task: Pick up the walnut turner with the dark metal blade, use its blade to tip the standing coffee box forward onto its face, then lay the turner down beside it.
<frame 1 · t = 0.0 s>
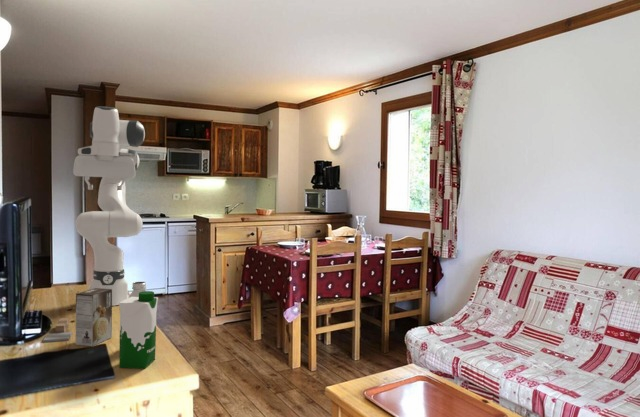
hand: (105, 190, 162), 48 cm above the tv stand, tool pointing down, fingers open, 8 cm apart
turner: (62, 330, 153), on the tv stand
milk carton: (137, 364, 126), on the tv stand
plastic bottle: (137, 348, 139), on the tv stand
coffee box: (93, 341, 143), on the tv stand
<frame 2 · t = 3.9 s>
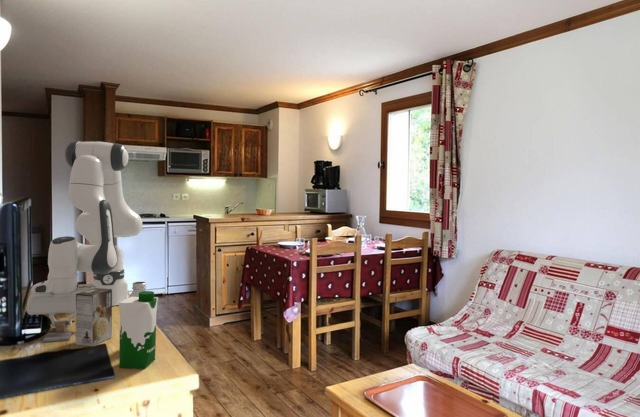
hand: (62, 325, 153), 2 cm above the tv stand, tool pointing down, fingers closed on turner, 2 cm apart
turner: (62, 330, 153), on the tv stand, touching gripper
everything else where it was.
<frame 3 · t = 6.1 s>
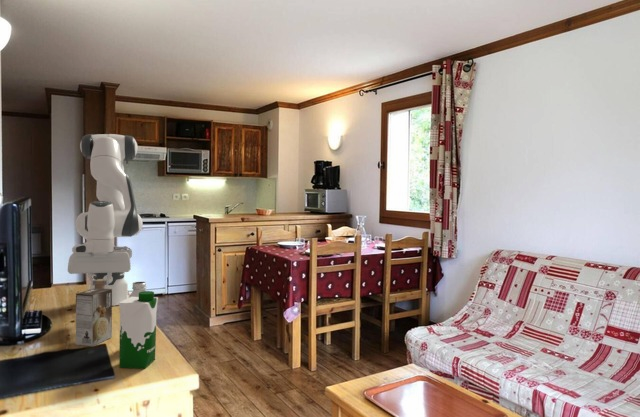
hand: (99, 285, 161), 14 cm above the tv stand, tool pointing down, fingers closed on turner, 2 cm apart
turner: (99, 289, 161), point 12 cm above the tv stand, touching gripper
everything else where it was.
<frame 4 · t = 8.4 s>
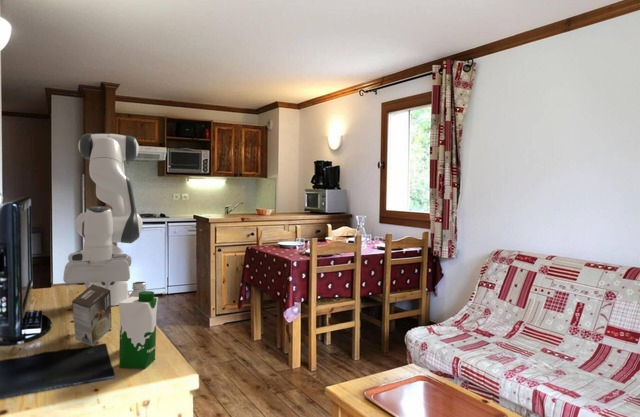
hand: (97, 295, 153), 12 cm above the tv stand, tool pointing down, fingers closed on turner, 2 cm apart
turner: (97, 300, 152), point 11 cm above the tv stand, tilted 18°, touching gripper, coffee box
coffee box: (93, 334, 143), point 2 cm above the tv stand, touching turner
everything else where it was.
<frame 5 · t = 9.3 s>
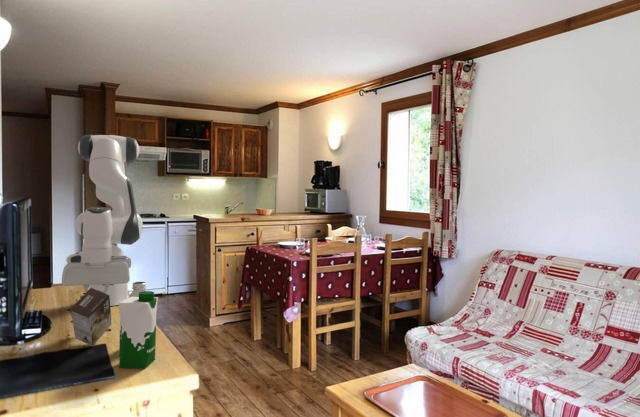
hand: (96, 297, 149), 12 cm above the tv stand, tool pointing down, fingers closed on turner, 2 cm apart
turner: (96, 303, 149), point 11 cm above the tv stand, tilted 21°, touching gripper, coffee box
coffee box: (93, 331, 142), point 3 cm above the tv stand, touching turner
everything else where it was.
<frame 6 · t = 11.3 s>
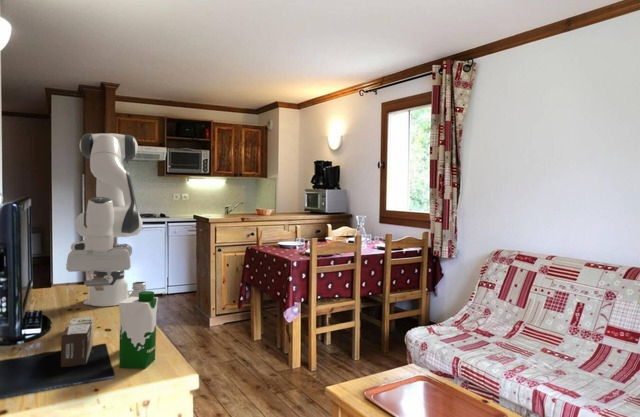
hand: (99, 283, 158), 15 cm above the tv stand, tool pointing down, fingers closed on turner, 2 cm apart
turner: (99, 288, 157), point 14 cm above the tv stand, tilted 21°, touching gripper
coffee box: (82, 332, 137), point 4 cm above the tv stand
everything else where it was.
when the fingers open (3 cm above the tv stand, at t = 14.9 s): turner drops 2 cm, on the tv stand.
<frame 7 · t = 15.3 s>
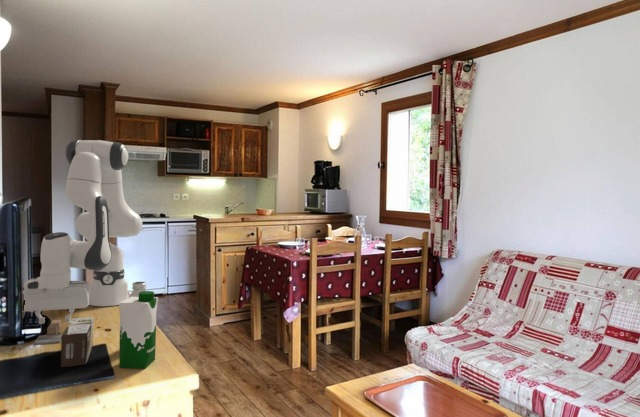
hand: (55, 322, 151), 3 cm above the tv stand, tool pointing down, fingers open, 6 cm apart
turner: (54, 332, 150), on the tv stand
everything else where it was.
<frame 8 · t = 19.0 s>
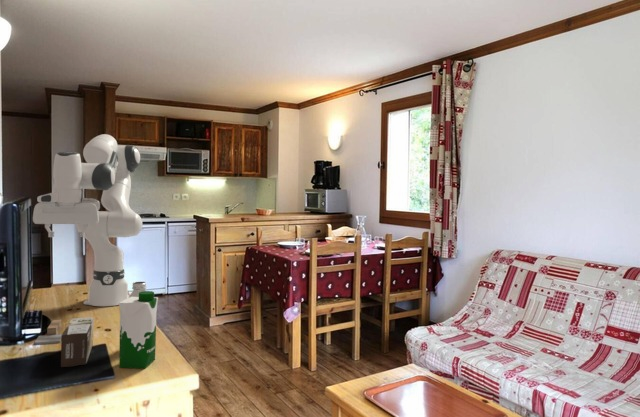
hand: (66, 236, 159), 31 cm above the tv stand, tool pointing down, fingers open, 8 cm apart
nothing on the tv stand moved.
at the end: coffee box tilted 89°; the gripper is holding nothing; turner inside the target area (0.9 cm from its centre), on the tv stand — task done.
